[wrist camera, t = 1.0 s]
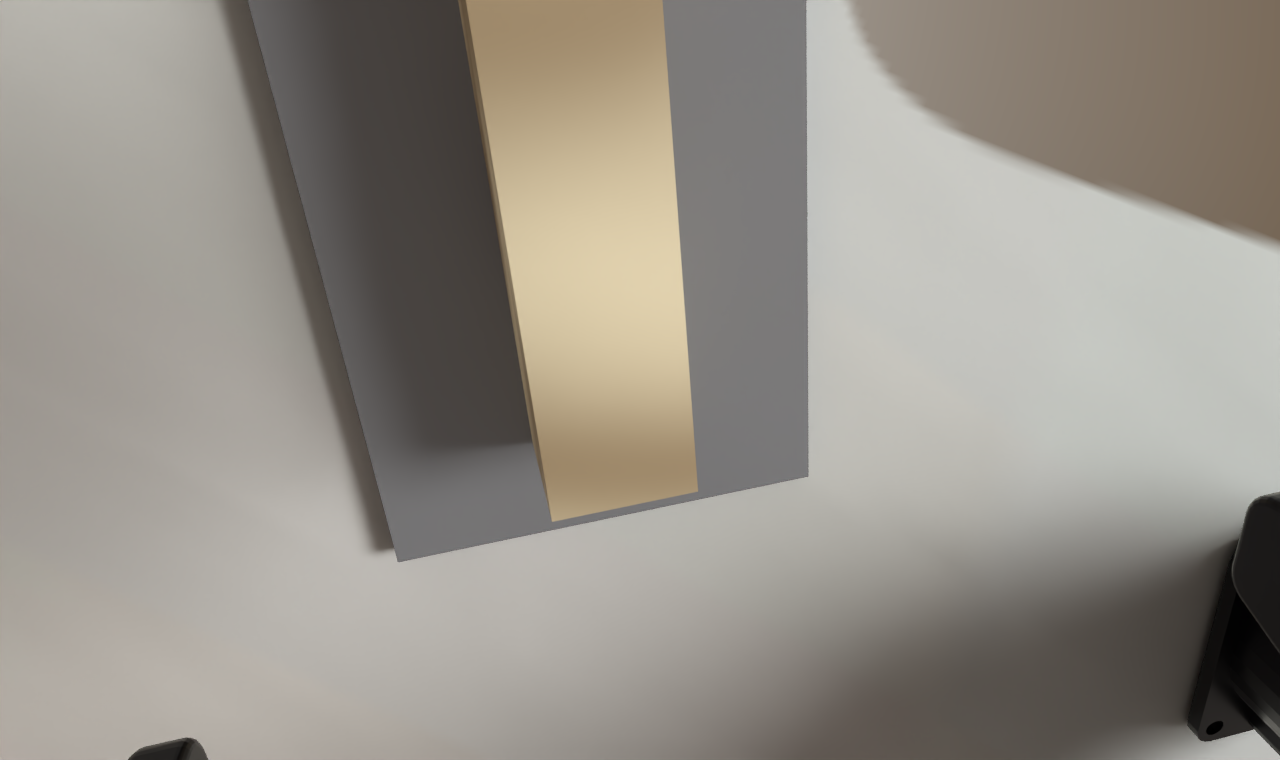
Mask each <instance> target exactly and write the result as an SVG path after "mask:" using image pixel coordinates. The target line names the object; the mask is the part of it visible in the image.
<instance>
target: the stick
mask: <svg viewBox="0 0 1280 760" xmlns="http://www.w3.org/2000/svg"><path fill="white" fill-rule="evenodd" d="M458 3H459V9H460V15H461V21H462V27H463V33H464V39H465V45H466V51H467V57H468V63H469V69H470V74H471V80H472V86H473V92H474V98H475V104H476V110H477V116H478V122H479V128H480V134H481V140H482V146H483V152H484V157H485V163H486V169H487V175H488V181H489V187H490V193H491V199H492V205H493V211H494V217H495V223H496V229H497V234H498V240H499V246H500V252H501V258H502V264H503V270H504V276H505V282H506V288H507V294H508V300H509V306H510V311H511V317H512V323H513V329H514V335H515V341H516V347H517V353H518V359H519V365H520V371H521V377H522V383H523V389H524V394H525V400H526V406H527V412H528V418H529V424H530V430H531V436H532V442H533V446H534V450H535V454H536V458H537V463H538V467H539V471H540V475H541V479H542V483H543V487H544V491H545V495H546V499H547V503H548V508H549V512H550V516H551V520H552V522H554V521H559V520H564V519H568V518H573V517H578V516H583V515H588V514H593V513H597V512H602V511H607V510H612V509H617V508H621V507H626V506H631V505H636V504H641V503H645V502H650V501H655V500H660V499H665V498H669V497H674V496H679V495H684V494H689V493H694V492H698V484H697V470H696V456H695V443H694V429H693V415H692V401H691V387H690V374H689V360H688V346H687V332H686V318H685V305H684V291H683V277H682V263H681V249H680V235H679V222H678V208H677V194H676V180H675V166H674V153H673V139H672V125H671V111H670V97H669V84H668V70H667V56H666V42H665V28H664V15H663V1H662V0H458Z"/></svg>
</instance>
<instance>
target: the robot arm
mask: <svg viewBox="0 0 1280 760" xmlns="http://www.w3.org/2000/svg"><path fill="white" fill-rule="evenodd" d="M1188 727H1189V728H1190V729H1191V730H1192V731H1193V733H1194V734H1195V735H1196V736H1197V737H1198V738H1199V739H1200V740H1201V741H1212V740H1216V739H1220V738H1223V737H1227V736H1231V735H1235V734H1238V733H1242V732H1246V731H1250V730H1253V729H1255V730H1256V732H1257V733H1258V734H1259V735H1260V736H1261V737H1262V738H1263V739H1264V740H1265V741H1266V742H1267V743H1268V744H1269V745H1270V746H1271V747H1272V748H1273V749H1274V750H1275V751H1276V752H1277V753H1278V754H1279V755H1280V492H1277V493H1272V494H1268V495H1264V496H1260V497H1258V498H1256V499H1255V500H1254V501H1253V502H1252V503H1251V504H1250V505H1249V507H1248V510H1247V512H1246V516H1245V519H1244V523H1243V527H1242V531H1241V534H1240V538H1239V542H1238V546H1237V549H1236V552H1235V553H1234V554H1233V556H1232V558H1231V560H1230V563H1229V566H1228V570H1227V574H1226V578H1225V581H1224V585H1223V589H1222V593H1221V596H1220V600H1219V604H1218V608H1217V612H1216V615H1215V619H1214V623H1213V627H1212V630H1211V634H1210V638H1209V642H1208V646H1207V649H1206V653H1205V657H1204V661H1203V664H1202V668H1201V672H1200V676H1199V680H1198V683H1197V687H1196V691H1195V695H1194V698H1193V702H1192V706H1191V710H1190V713H1189V717H1188ZM128 760H208V758H207V755H206V753H205V751H204V749H203V747H202V746H201V744H200V743H199V742H198V741H197V740H195V739H193V738H182V739H177V740H173V741H168V742H164V743H160V744H155V745H151V746H146V747H143V748H141V749H139V750H138V751H136V752H135V753H134V754H133V755H132V756H131V757H130V758H129V759H128Z"/></svg>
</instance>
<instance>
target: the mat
mask: <svg viewBox="0 0 1280 760" xmlns="http://www.w3.org/2000/svg"><path fill="white" fill-rule="evenodd" d="M662 1H663V15H664V28H665V42H666V56H667V70H668V84H669V97H670V111H671V125H672V139H673V153H674V166H675V180H676V194H677V208H678V222H679V235H680V249H681V263H682V277H683V291H684V305H685V318H686V332H687V346H688V360H689V374H690V387H691V401H692V415H693V429H694V443H695V456H696V470H697V484H698V492H694V493H689V494H684V495H679V496H674V497H669V498H665V499H660V500H655V501H650V502H645V503H641V504H636V505H631V506H626V507H621V508H617V509H612V510H607V511H602V512H597V513H593V514H588V515H583V516H578V517H573V518H568V519H564V520H559V521H554V522H552V520H551V516H550V512H549V508H548V503H547V499H546V495H545V491H544V487H543V483H542V479H541V475H540V471H539V467H538V463H537V458H536V454H535V450H534V446H533V442H532V436H531V430H530V424H529V418H528V412H527V406H526V400H525V394H524V389H523V383H522V377H521V371H520V365H519V359H518V353H517V347H516V341H515V335H514V329H513V323H512V317H511V311H510V306H509V300H508V294H507V288H506V282H505V276H504V270H503V264H502V258H501V252H500V246H499V240H498V234H497V229H496V223H495V217H494V211H493V205H492V199H491V193H490V187H489V181H488V175H487V169H486V163H485V157H484V152H483V146H482V140H481V134H480V128H479V122H478V116H477V110H476V104H475V98H474V92H473V86H472V80H471V74H470V69H469V63H468V57H467V51H466V45H465V39H464V33H463V27H462V21H461V15H460V9H459V3H458V0H248V4H249V8H250V12H251V15H252V19H253V23H254V27H255V30H256V34H257V38H258V41H259V45H260V49H261V53H262V56H263V60H264V64H265V68H266V71H267V75H268V79H269V83H270V86H271V90H272V94H273V97H274V101H275V105H276V109H277V112H278V116H279V120H280V124H281V127H282V131H283V135H284V139H285V142H286V146H287V150H288V153H289V157H290V161H291V165H292V168H293V172H294V176H295V180H296V183H297V187H298V191H299V194H300V198H301V202H302V206H303V209H304V213H305V217H306V221H307V224H308V228H309V232H310V236H311V239H312V243H313V247H314V250H315V254H316V258H317V262H318V265H319V269H320V273H321V277H322V280H323V284H324V288H325V292H326V295H327V299H328V303H329V306H330V310H331V314H332V318H333V321H334V325H335V329H336V333H337V336H338V340H339V344H340V348H341V351H342V355H343V359H344V362H345V366H346V370H347V374H348V377H349V381H350V385H351V389H352V392H353V396H354V400H355V403H356V407H357V411H358V415H359V418H360V422H361V426H362V430H363V433H364V437H365V441H366V445H367V448H368V452H369V456H370V459H371V463H372V467H373V471H374V474H375V478H376V482H377V486H378V489H379V493H380V497H381V501H382V504H383V508H384V512H385V515H386V519H387V523H388V527H389V530H390V534H391V538H392V542H393V545H394V549H395V553H396V556H397V560H398V562H402V561H407V560H411V559H416V558H421V557H426V556H430V555H435V554H440V553H445V552H450V551H454V550H459V549H464V548H469V547H473V546H478V545H483V544H488V543H493V542H497V541H502V540H507V539H512V538H516V537H521V536H526V535H531V534H536V533H540V532H545V531H550V530H555V529H560V528H564V527H569V526H574V525H579V524H583V523H588V522H593V521H598V520H603V519H607V518H612V517H617V516H622V515H626V514H631V513H636V512H641V511H646V510H650V509H655V508H660V507H665V506H669V505H674V504H679V503H684V502H689V501H693V500H698V499H703V498H708V497H713V496H717V495H722V494H727V493H732V492H736V491H741V490H746V489H751V488H756V487H760V486H765V485H770V484H775V483H779V482H784V481H789V480H794V479H799V478H803V477H808V298H807V87H806V0H662Z"/></svg>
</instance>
